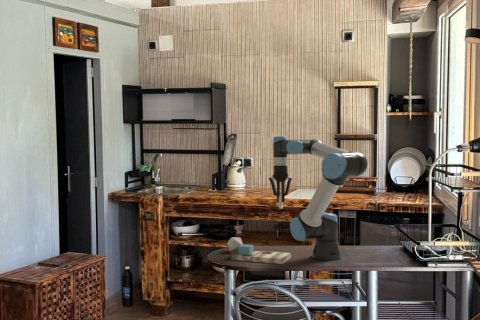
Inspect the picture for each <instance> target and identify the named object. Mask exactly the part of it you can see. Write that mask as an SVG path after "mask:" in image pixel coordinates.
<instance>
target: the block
mask: <svg viewBox="0 0 480 320" xmlns="http://www.w3.org/2000/svg"><path fill="white" fill-rule="evenodd" d="M254 247H255V246H254V245H253V244H245V243H244V244H243V245H241V246H239V254H243V255H250V254H252V253H254V251H255V250H254Z"/></svg>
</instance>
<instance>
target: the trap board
mask: <svg viewBox="0 0 480 320" xmlns="http://www.w3.org/2000/svg"><path fill="white" fill-rule="evenodd" d="M240 246H241V245H240ZM229 252H230V260H231V261H232V260H233V261H240V262H241V261H242V262H245V261H246V262H253V263H265V264H267V263H268V264H278V265H279V264H280V265H283V264H284V263H286V262H287V261H289V260H290V259H291V258H292V257H291V256H292V254H291V252H282V251H267V250H266V251H263V250H254V253H252V254H250V255H243V254H239V246H238V247H236V248H234V249H233V250H231V251H229Z"/></svg>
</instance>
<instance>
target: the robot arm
mask: <svg viewBox="0 0 480 320" xmlns="http://www.w3.org/2000/svg"><path fill="white" fill-rule="evenodd" d="M272 139H273V141H272V152H273V155H272V156H273V157H272V158H273V174H272V176H271V177H268V180H269V182H270V186H271V189H272V193H273V195H274V196H276V202H277V203H278V209H279V210H282V209H284V203H285V201H286V200H285V199H286V196H288V195H289V193H290V192H289V191H290V187H291V184H292V183H291V182H292V181H293V177H291V176H290V175H289V174H288V173H289V172H288V155H291V156H294V155H295V156H297V155H313V156H315V157H317V158H320V159H323V160H322V162H321V166H322V167H321V174H322V175H321V176H322V177H323V178H322V179H321V181H319V184H318V186H317V189H316V190H315V192H314V194H313V196H312V197H311V199H310V201H309V202H308V204H307V207H306V208H305V209H303V210H301V212H300V213H299V215H298V217H293V218H292V219H291V220H290V223H289V229H290V234H291V236H292V237H293V239H294V240H296V241H299V242H301V241H302V242H304V241H308V240H309V241H310V240H314V245H313V248H312V250H311V257H312V258H313V259H316V260H322V261H323V260H324V261H333V260H340V259H341V258H342V252H341V251H342V250H341V248H340V246H339V241H338V238H339V237H338V235H339V233H338V232H339V231H338V229H339V222H338V220H339V219H338V215H337V214H336V213H330V212H326V210H327V208H328V206H330V203H331V201H332V199H333V198H334V196H335V195H336V193H337V191H338V189H339V188H340V187H342V186H344V185H345V184H346V182H347V180H348V179H349V178H356V177H360V176H362V175H364V174H365V173H366V171H367V169H368V166H369V165H368V162H369V161H368V159H367V157H366V156H365V155H364V154H363V153H361V152H359V151H355V150H345V149H342V148H339V147H336V146H333V145H330V144H327V143H324V142H321V140H319V139H315V138H313V139H288V137H287V136H285V135H283V136H273V138H272ZM275 181H276V184H275ZM286 181H287V183H286ZM285 187H286V188H285Z"/></svg>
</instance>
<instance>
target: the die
mask: <svg viewBox="0 0 480 320" xmlns="http://www.w3.org/2000/svg"><path fill="white" fill-rule="evenodd" d="M226 245H227V248H228V249H229V250H228V251H229V252H230V251H231V250H233V249H234V248H236V247H238V246H240V245H243V240H242V238H241V237H237V236H235V237H230V239H229V240H228V242H226Z"/></svg>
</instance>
